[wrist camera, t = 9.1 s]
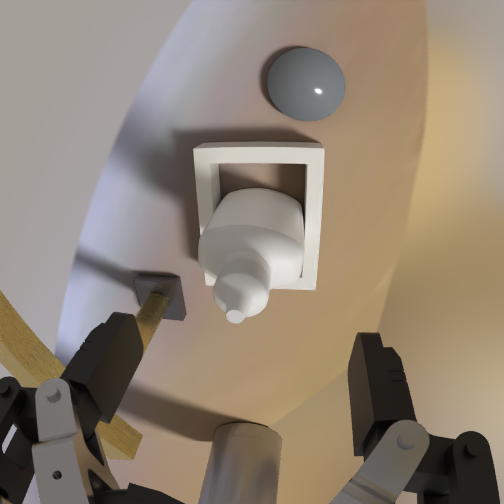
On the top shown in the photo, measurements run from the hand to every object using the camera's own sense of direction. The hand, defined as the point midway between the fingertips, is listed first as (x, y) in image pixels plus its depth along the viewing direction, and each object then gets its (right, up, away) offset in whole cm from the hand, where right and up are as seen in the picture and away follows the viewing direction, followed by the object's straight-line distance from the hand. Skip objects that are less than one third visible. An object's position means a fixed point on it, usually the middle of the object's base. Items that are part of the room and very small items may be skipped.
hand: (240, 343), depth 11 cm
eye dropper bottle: (+1, +6, +12) cm, 14 cm away
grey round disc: (+4, +14, +8) cm, 16 cm away
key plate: (-8, -1, +17) cm, 18 cm away
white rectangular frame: (+1, +6, +12) cm, 14 cm away
